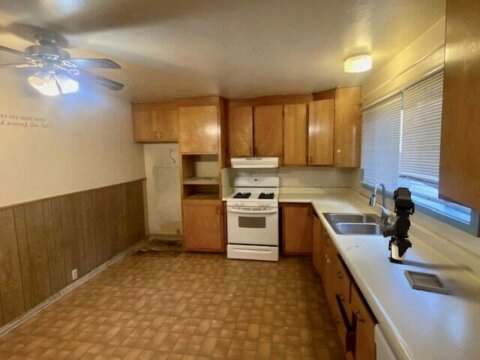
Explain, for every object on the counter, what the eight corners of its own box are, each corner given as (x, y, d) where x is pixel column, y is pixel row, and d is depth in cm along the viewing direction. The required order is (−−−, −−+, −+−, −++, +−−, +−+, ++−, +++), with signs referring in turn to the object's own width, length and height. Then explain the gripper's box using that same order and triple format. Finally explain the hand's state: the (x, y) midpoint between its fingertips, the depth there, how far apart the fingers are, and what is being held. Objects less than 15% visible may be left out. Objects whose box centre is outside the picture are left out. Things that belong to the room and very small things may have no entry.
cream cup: (392, 253, 140) (393, 240, 140) (407, 257, 136) (409, 244, 135) (388, 257, 135) (390, 244, 134) (404, 261, 131) (406, 247, 130)
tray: (404, 273, 141) (404, 269, 141) (436, 278, 137) (436, 274, 137) (412, 288, 126) (412, 284, 126) (448, 294, 122) (448, 290, 122)
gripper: (380, 217, 145) (378, 245, 147) (386, 227, 127) (383, 259, 130) (404, 219, 141) (401, 249, 143) (413, 230, 124) (410, 263, 126)
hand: (398, 254), depth 135 cm, fingers closed on cream cup, 6 cm apart
